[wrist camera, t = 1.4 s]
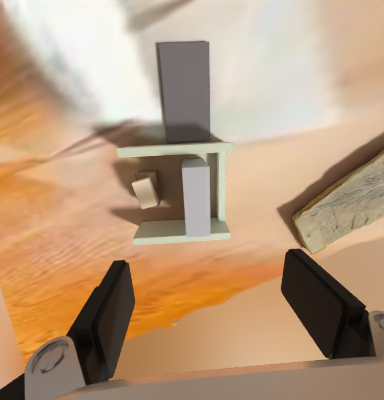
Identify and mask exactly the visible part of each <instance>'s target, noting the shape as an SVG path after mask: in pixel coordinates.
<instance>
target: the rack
mask: <svg viewBox="0 0 384 400" xmlns="http://www.w3.org/2000/svg"><path fill="white" fill-rule="evenodd" d="M226 152H233V143H231V142H207V143H187V144H166V145H146V146H128V147H123V148H117V154H118V158H121V157H141V156H160V155H180V154H200V153H217V217H215V218H210V236H202V237H186V224H185V219H182V220H165V221H148V222H141V224H140V226H139V228H138V230H137V232H136V234H135V236H134V238H133V242H134V245H144V244H160V243H175V242H191V241H207V240H223V239H230V231H229V229H228V227H227V225H226V223H225V194H226Z"/></svg>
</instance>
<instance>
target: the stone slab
mask: <svg viewBox="0 0 384 400" xmlns="http://www.w3.org/2000/svg"><path fill="white" fill-rule="evenodd" d="M383 216H384V147H383V149H382V150H381V152H380V153H378V154H377V155H376V156H375V157H374V158H373V159H371V160H370V161H369V162H367V163H366V164H364V165H362V166H360V167H358V168H357V169H355V170H353V171H351V172H350V173H349V174H348V175H346V176H344V177H343V178H341V179H339V180H338V181H337V182H335V183H334V184H333V185H331V186H330V187H328V188H327V189H325V190H324V191H323V192H322V193H320V194H319V195H318V196H316V197H315V198H314V199H312V200H311V201H310V202H309V203H308V204H307V205H306V206H305V207H304V208H302V209H301V210H299V211H298V212H297V213H296V214H295V215H294V216H293V217H292V220H293V223H294V225H295V227H296V229H297V231H298V234H299V238H300V240H301V242H302V243H303V245H304V246H305V248H306V249H307V250H308V251H309V252H310V253H311V254H315V253H317V252H319V251H321V250H323V249H324V248H325V247H326V246H327V245H328V244H330V243H332V242H334V241H335V240H337V239H339V238H341V237H342V236H344V235H347V234H349V233H350V232H352V231H353V230H356V229H359V228H361V227H362V226H366V225H369V224H371V223H372V222H374V221H376V220H378V219H380V218H382V217H383Z"/></svg>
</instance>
